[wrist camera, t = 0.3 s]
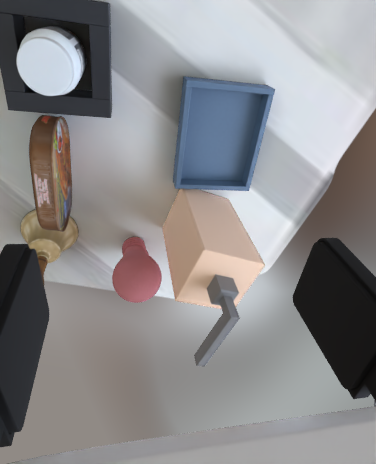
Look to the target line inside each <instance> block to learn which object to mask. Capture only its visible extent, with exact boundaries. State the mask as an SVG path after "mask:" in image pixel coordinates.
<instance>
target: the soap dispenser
mask: <svg viewBox="0 0 376 464" xmlns="http://www.w3.org/2000/svg"><path fill="white" fill-rule="evenodd" d="M162 229H163V235H164V240H165V246H166V251H167V257H168V262H169V268H170V274H171V279H172V285H173V290H174V296H175V301H178V302H183V303H190V304H195V305H201V306H206V307H213V308H218V309H222V311H223V314H222V316H221V317H220V318H219V320H218V321H217V323H216V324H215V326H214V327H213V329H212V330H211V332H210V333H209V334H208V336H207V337H206V339H205V340H204V342H203V343H202V345H201V346H200V348H199V349H198V351H197V352H196V353H195V355H194V356H195V361H196V366H205V365H206V364H207V362H208V361H209V359H210V358H211V357H212V355H213V354H214V353H215V351H216V350H217V349H218V347H219V346H220V345H221V343H222V342H223V340H224V339H225V338H226V336H227V335H228V333H229V332H230V331H231V330H232V328H233V327H234V325H235V324H236V323H237V321H238V320H239V315H238V313H237V310H236V306H237V305H238V303H239V302H240V300H241V299H242V298H243V296H244V295H245V293H246V292H247V290H248V289H249V287H250V286H251V285H252V283H253V282H254V281H255V279H256V278H257V276H258V275H259V274H260V272H261V271H262V269H263V268H264V266H265V264H264V262H263V260H262V259H261V257H260V255H259V253H258V251H257V250H256V248H255V246H254V244H253V242H252V241H251V239H250V237H249V235H248V233H247V232H246V230H245V228H244V226H243V224H242V223H241V221H240V219H239V217H238V215H237V213H236V212H235V210H234V208H233V206H232V204H231V203H230V201H229V199H226V198H223V197H220V196H217V195H214V194H211V193H207V192H204V191H201V190H198V189H179V192H178V194H177V196H176V198H175V200H174V203H173V205H172V207H171V209H170V211H169V214H168V216H167V218H166V220H165V222H164V225H163V227H162Z"/></svg>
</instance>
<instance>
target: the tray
mask: <svg viewBox="0 0 376 464" xmlns="http://www.w3.org/2000/svg"><path fill="white" fill-rule="evenodd" d="M274 92H275V89H273V88H272V87H270V86H268V85H260V84H251V83H241V82H232V81H223V80H213V79H204V78H195V77H186V76H184V77H183V87H182V96H181V106H180V116H179V126H178V135H177V145H176V155H175V165H174V175H173V183H174V186H175V188H176V189H206V190H238V191H249V188H250V184H251V180H252V177H253V173H254V169H255V165H256V161H257V157H258V153H259V149H260V146H261V142H262V138H263V134H264V130H265V126H266V122H267V118H268V114H269V111H270V107H271V103H272V99H273V95H274Z"/></svg>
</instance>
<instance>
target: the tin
mask: <svg viewBox="0 0 376 464" xmlns="http://www.w3.org/2000/svg"><path fill="white" fill-rule="evenodd" d="M29 158H30V168H31V176H32V184H33V191H34V199H35V206H36V213H37V219H38V222H39V225H40V226H41V228H43V229H45V230H53V231H60V232H64V231H65V230H66V228H67V225H68V222H69V217H70V211H71V205H72V180H71V161H70V141H69V132H68V126H67V123H66V120H65V119H64V117H62V116H60V117H55V116H47V115H42V116H40V117H39V118H38V119H37V120H36V122H35V123H34V125H33V127H32V130H31V135H30V143H29Z"/></svg>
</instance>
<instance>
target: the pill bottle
mask: <svg viewBox="0 0 376 464" xmlns="http://www.w3.org/2000/svg"><path fill="white" fill-rule="evenodd" d="M16 62H17V68H18V72H19V74H20V76H21V78H22V79H23V81H24V82H25V83H26V85H27V86H28V87H30V88H31V89H32V90H34V91H35V92H37V93H39V94H42V95H45V96H57V95H63V94H66V93H69V92H70V91H72V90H73V89H74V88H75V87H76V85H77V84H78V82H79V80H80V78H81V77H82V75H83V73H84V71H85V68H86V53H85V49H84V47H83V45H82V43H81V41H80V40H79V39H78V37H77V36H76V35H75V34H74V33H72V32H71V31H70V30H68V29H66V28H63V27H60V26H48V27H44V28H40V29H36V30H34V31H32V32H30V33H28V34H27V35H26V36H25V37H24V39H23V40H22V42H21V45H20V48H19V50H18V53H17V59H16Z"/></svg>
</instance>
